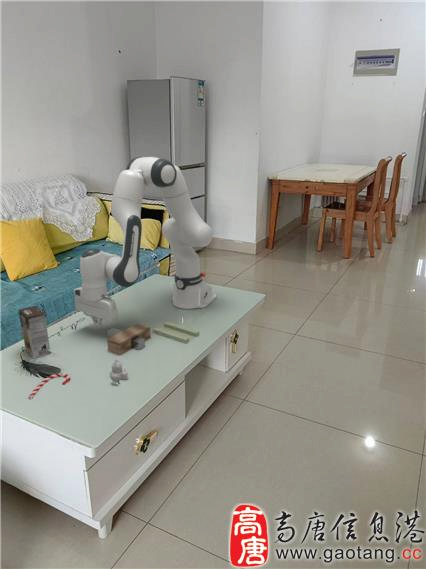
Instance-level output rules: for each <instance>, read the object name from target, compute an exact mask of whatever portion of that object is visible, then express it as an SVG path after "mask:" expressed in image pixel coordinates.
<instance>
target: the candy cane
mask: <svg viewBox="0 0 426 569" xmlns="http://www.w3.org/2000/svg"><path fill="white" fill-rule="evenodd" d="M55 378H56V379H57V378H65V379H66V380H64V381H63V382H62V383H61V384H62V385H63V386H65V385H67V384H68V383H69V382H70V381H71V376H70V375H69V374H68V373H55V374H52V375H49V376H47V377H46V378H44V379H42V380H41V381H40V382H39V384H38V385H37V386H36V387H35V388H34V389H33V390H32V392H31V393H30V394H29V396H28V398H30V399H29V400H32V399H33V398H34V397H35V396H36V395H37V393H38V392H39V391H40V389H42V387H43V386H44V385H46V383H48V382H49V381H51V380H52V379H55ZM38 390H39V391H38ZM37 391H38V392H37ZM34 395H35V396H34ZM28 398H27V399H28ZM31 398H32V399H31Z"/></svg>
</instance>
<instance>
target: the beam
mask: <svg viewBox="0 0 426 569" xmlns="http://www.w3.org/2000/svg"><path fill="white" fill-rule="evenodd" d="M121 331H122V332H120V333H118V334H116V335H114V336H112V337H110V338H109V339H108V338H107V339H106V343H107V344H106V345H107V351H109V352H111V353H113V354H116V355H118V356H122V355H123V354H125V353H127V352H128V351H130V350H132V349H133V348H132V342H131V339H133V338H134V337H136V336H138V337H141V338H144V340H145V342H146V341H148V340H150V339H152V336H151V326H148V325H145V324H142V323H140V322H139V323H136V324H134V325H132V326H129V327H128V328H126V329H124V330H121Z"/></svg>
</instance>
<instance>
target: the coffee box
mask: <svg viewBox="0 0 426 569" xmlns="http://www.w3.org/2000/svg"><path fill="white" fill-rule="evenodd" d="M18 315H19V319H20V324H21V325H20V326H21V331H22V336H23V337H22V338H23V342H24V348H25V351H27V353H29V355H30V356H31V358H33V359H37V358H40V357H43V356H46V355H49V354H51V350H50V349H51V347H50V341H49V333H48V326H47V319H46V313H45V312H44V311H43V310H42V309H40V307H38V306H37V305H33V306H28V307H22V308H20V309H18Z"/></svg>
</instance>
